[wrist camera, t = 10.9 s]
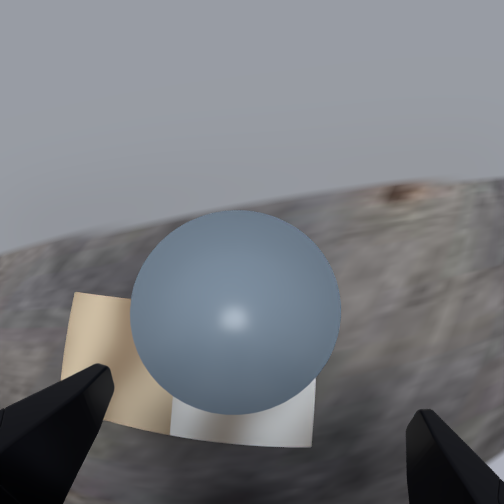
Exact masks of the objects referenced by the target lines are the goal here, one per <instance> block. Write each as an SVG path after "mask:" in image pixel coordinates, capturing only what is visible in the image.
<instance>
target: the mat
mask: <svg viewBox="0 0 504 504" xmlns="http://www.w3.org/2000/svg"><path fill="white" fill-rule="evenodd" d="M130 305H131V299H126V298H117V297H109V296H101V295H94V294H86V293H79V292H75V294H74V299H73V304H72V309H71V314H70V320H69V325H68V331H67V337H66V344H65V350H64V358H63V365H62V374H61V380H63V379H65V378H67V377H69V376H71V375H73V374H75V373H77V372H79V371H81V370H83V369H85V368H87V367H89V366H91V365H93V364H95V363H100V364H103V365H106V366H108V367H109V368H110V370H111V374H112V378H113V382H114V386H115V388H114V393H113V396H112V398H111V401H110V403H109V406H108V408H107V411H106V414H105V416H104V419H103V420H106V421H110V422H113V423H117V424H121V425H125V426H129V427H133V428H138V429H142V430H146V431H151V432H156V433H161V434H166V435H172V436H177V437H183V438H189V439H196V440H203V441H211V442H219V443H228V444H239V445H252V446H269V447H311V443H312V431H313V418H314V403H315V386H316V378H315V379H314V380H313V381H312V382H311V383H310V384H309V385H308V386H307V387H306V388H305V389H303V390H302V391H301V392H300V393H299V394H297V395H296V396H294V397H293V398H291V399H289V400H288V401H286V402H284V403H282V404H280V405H278V406H275V407H273V408H271V409H268V410H264V411H261V412H257V413H251V414H243V415H224V414H217V413H210V412H207V411H203V410H200V409H197V408H194V407H192V406H190V405H188V404H185V403H183V402H182V401H180V400H178V399H177V398H175V397H174V396H172V395H171V394H169V393H168V392H167V391H166V390H165V389H164V388H162V387H161V386H160V385H159V384H158V383H157V382H156V380H155V379H154V378H153V377H152V376H151V375H150V373H149V372H148V370H147V369H146V367H145V366H144V364H143V363H142V361H141V358H140V356H139V354H138V352H137V350H136V347H135V344H134V341H133V337H132V331H131V325H130Z"/></svg>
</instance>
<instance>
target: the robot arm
mask: <svg viewBox="0 0 504 504" xmlns="http://www.w3.org/2000/svg"><path fill="white" fill-rule="evenodd" d="M114 388H115V386H114V382H113V378H112V374H111V370H110V368H109V367H108V366H106V365H103V364H100V363H95V364H93V365H91V366H89V367H87V368H85V369H83V370H81V371H79V372H77V373H75V374H73V375H71V376H69V377H67V378H65V379H63V380H61V381H59V382H57V383H55V384H53V385H51V386H49V387H47V388H45V389H43V390H41V391H39V392H37V393H35V394H33V395H31V396H29V397H27V398H25V399H22V400H20V401H18V402H16V403H14V404H12V405H10V406H8V407H6V408H5V409H1V410H0V504H63V503H64V500H65V498H66V496H67V494H68V492H69V490H70V488H71V486H72V484H73V482H74V480H75V478H76V476H77V473H78V471H79V469H80V467H81V465H82V463H83V461H84V459H85V457H86V455H87V454H88V452H89V450H90V448H91V446H92V444H93V442H94V440H95V438H96V436H97V434H98V432H99V429H100V427H101V424H102V422H103V419H104V416H105V414H106V411H107V408H108V406H109V403H110V401H111V398H112V396H113V393H114ZM406 463H407V484H408V494H409V504H504V482H503V481H502V480H501V479H500V478H499V477H498V476H497V475H496V474H495V473H494V472H493V471H492V469H491V468H490V467H489V466H488V465H487V464H486V463H485V462H484V461H483V460H482V459H481V458H480V457H479V456H478V455H477V454H476V453H475V452H474V451H473V450H472V449H471V448H470V447H469V446H468V445H467V444H466V443H465V442H464V441H463V440H462V439H461V438H460V437H459V436H458V435H457V434H456V433H455V432H454V431H453V430H452V429H451V428H450V427H449V426H448V425H447V424H446V423H445V422H444V421H443V420H442V419H441V418H440V417H439V416H438V415H437V414H436V413H435V412H434V411H433V410H431V409H420V410H418V411H417V412H416V414H415V415H414V417H413V418H412V420H411V421H410V423H409V425H408V426H407V429H406Z"/></svg>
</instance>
